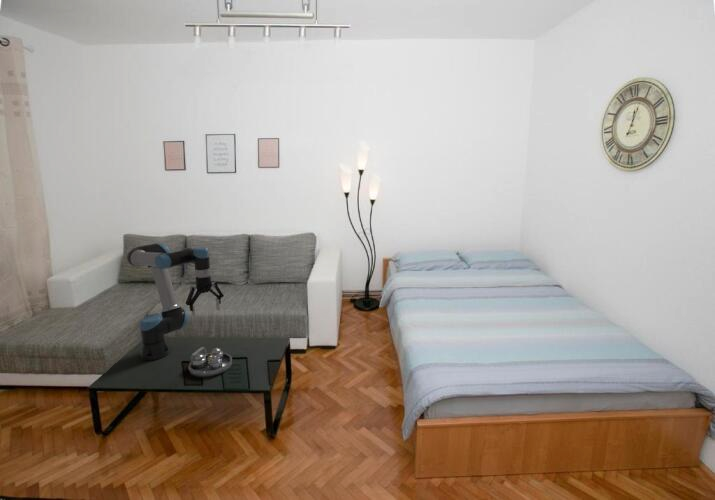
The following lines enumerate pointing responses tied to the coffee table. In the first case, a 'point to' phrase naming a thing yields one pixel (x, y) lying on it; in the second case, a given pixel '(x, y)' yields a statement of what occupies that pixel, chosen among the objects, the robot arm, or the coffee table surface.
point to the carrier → (202, 367)
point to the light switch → (199, 351)
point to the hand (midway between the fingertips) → (206, 312)
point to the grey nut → (215, 363)
